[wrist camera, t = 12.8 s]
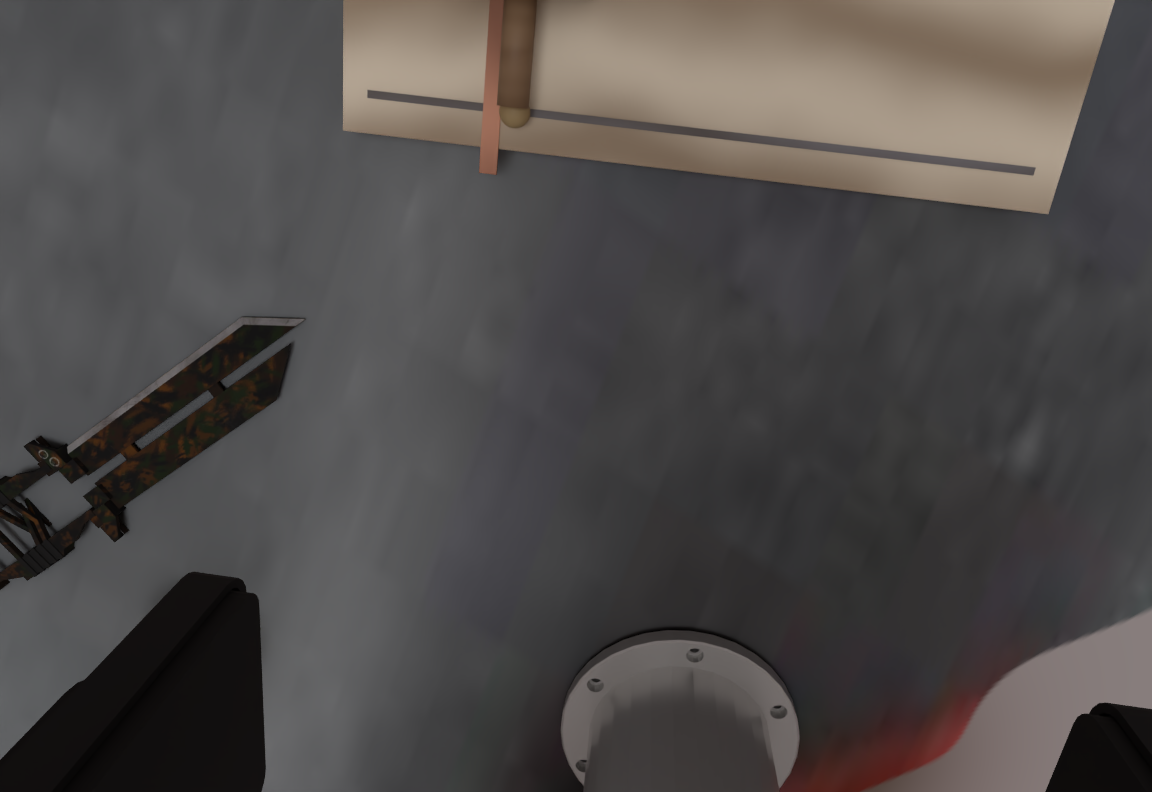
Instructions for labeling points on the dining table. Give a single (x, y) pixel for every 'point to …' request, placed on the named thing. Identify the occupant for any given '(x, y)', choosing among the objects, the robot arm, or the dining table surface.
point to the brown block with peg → (516, 61)
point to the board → (749, 88)
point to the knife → (157, 456)
